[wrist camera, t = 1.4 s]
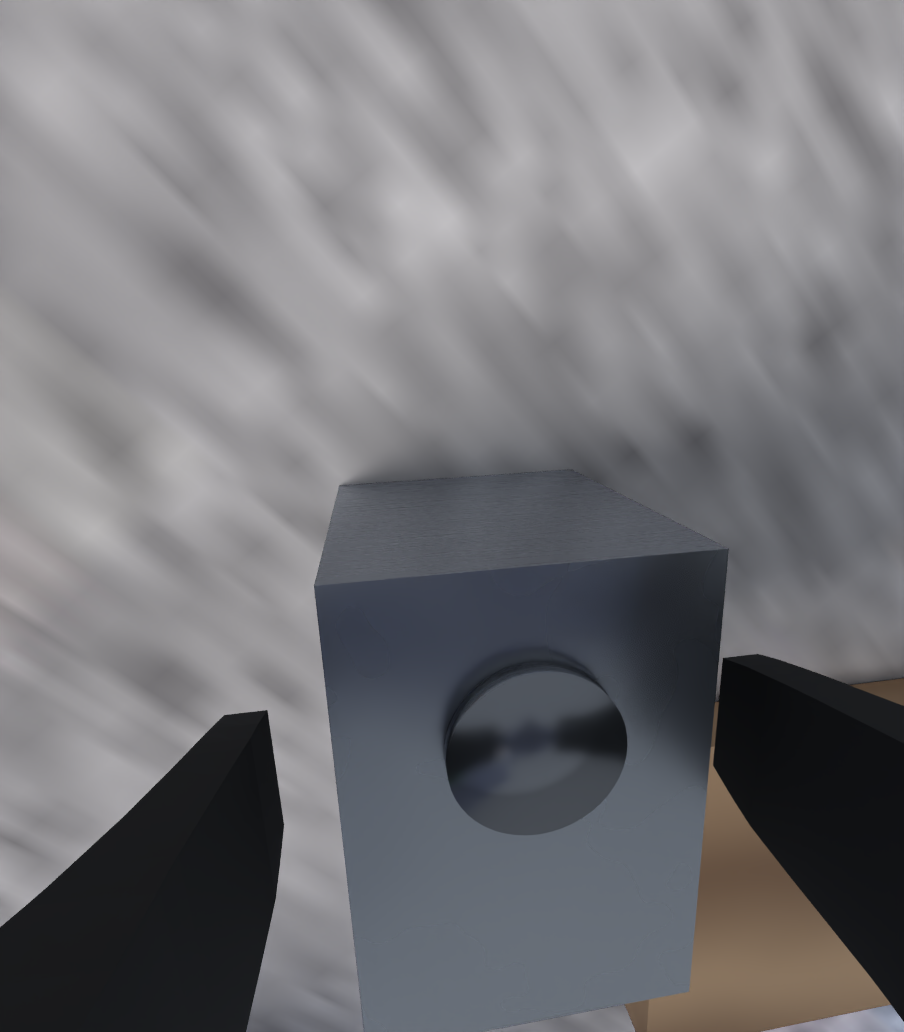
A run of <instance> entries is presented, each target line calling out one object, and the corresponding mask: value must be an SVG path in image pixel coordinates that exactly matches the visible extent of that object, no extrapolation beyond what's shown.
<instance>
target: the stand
mask: <svg viewBox="0 0 904 1032" xmlns="http://www.w3.org/2000/svg"><path fill="white" fill-rule="evenodd" d="M850 686H853V687H855V688H858V689H861V690H863V691H866V692H869V693H871V694H874V695H876V696H879V697H882V698H884V699H887V700H890V701H892V702H895V703H898V704H900V705H903V706H904V678H902V679H894V680H886V681H878V682H870V683H862V684H855V685H850ZM718 706H719V702H715V707H714V718H713V730H712V741H711V752H710V763H709V774H708V786H707V797H706V808H705V819H704V830H703V842H702V853H701V864H700V875H699V886H698V898H697V909H696V920H695V931H694V943H693V954H692V965H691V976H690V987H689V992H685V993H680V994H675V995H670V996H664V997H659V998H654V999H649V1000H644V1001H639V1002H633V1003H628V1004H625V1006H626V1008H627V1011H628V1013H629V1016H630V1018H631V1021H632V1023H633V1026H634V1028H635V1031H636V1032H761V1031H765V1030H770V1029H775V1028H780V1027H785V1026H790V1025H794V1024H799V1023H804V1022H809V1021H814V1020H819V1019H823V1018H828V1017H833V1016H838V1015H843V1014H847V1013H852V1012H857V1011H862V1010H867V1009H872V1008H876V1007H881V1006H886V1005H891V1004H890V1002H889V1001H888V1000H887V998H886V997H885V996H884V994H883V993H882V992H881V990H880V989H879V988H878V986H877V985H876V984H875V982H874V981H873V980H872V978H871V977H870V976H869V975H868V973H867V972H866V971H865V970H864V968H863V967H862V966H861V965H860V963H859V962H858V961H857V960H856V958H855V957H854V956H853V955H852V953H851V952H850V951H849V950H848V948H847V947H846V946H845V945H844V943H843V942H842V941H841V940H840V938H839V937H838V936H837V935H836V933H835V932H834V931H833V930H832V928H831V927H830V926H829V925H828V924H827V922H826V921H825V920H824V919H823V917H822V916H821V915H820V914H819V912H818V911H817V910H816V909H815V907H814V906H813V905H812V904H811V902H810V901H809V900H808V899H807V897H806V896H805V895H804V894H803V892H802V891H801V890H800V889H799V887H798V886H797V885H796V884H795V882H794V881H793V880H792V879H791V877H790V876H789V875H788V874H787V872H786V871H785V870H784V869H783V867H782V866H781V865H780V864H779V862H778V861H777V860H776V858H775V857H774V856H773V855H772V853H771V852H770V851H769V850H768V848H767V847H766V846H765V844H764V843H763V842H762V841H761V839H760V838H759V837H758V835H757V834H756V833H755V832H754V830H753V829H752V828H751V826H750V825H749V823H748V822H747V820H746V819H745V817H744V816H743V814H742V812H741V811H740V809H739V808H738V806H737V805H736V803H735V802H734V800H733V798H732V797H731V795H730V793H729V792H728V790H727V788H726V787H725V785H724V783H723V782H722V780H721V778H720V777H719V775H718V773H717V771H716V770H715V768H714V766H713V759H714V748H715V738H716V727H717V717H718Z"/></svg>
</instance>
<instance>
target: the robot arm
mask: <svg viewBox="0 0 904 1032" xmlns="http://www.w3.org/2000/svg"><path fill="white" fill-rule="evenodd" d="M713 766H714V768H715V770H716V771H717V773H718V775H719V777H720V778H721V780H722V782H723V783H724V785H725V787H726V788H727V790H728V792H729V793H730V795H731V797H732V798H733V800H734V802H735V803H736V805H737V806H738V808H739V809H740V811H741V812H742V814H743V816H744V817H745V819H746V820H747V822H748V823H749V825H750V826H751V828H752V829H753V830H754V832H755V833H756V834H757V835H758V837H759V838H760V839H761V841H762V842H763V843H764V844H765V846H766V847H767V848H768V850H769V851H770V852H771V853H772V855H773V856H774V857H775V858H776V860H777V861H778V862H779V864H780V865H781V866H782V867H783V869H784V870H785V871H786V872H787V874H788V875H789V876H790V877H791V879H792V880H793V881H794V882H795V884H796V885H797V886H798V887H799V889H800V890H801V891H802V892H803V894H804V895H805V896H806V897H807V899H808V900H809V901H810V902H811V904H812V905H813V906H814V907H815V909H816V910H817V911H818V912H819V914H820V915H821V916H822V917H823V919H824V920H825V921H826V922H827V924H828V925H829V926H830V927H831V928H832V930H833V931H834V932H835V933H836V935H837V936H838V937H839V938H840V940H841V941H842V942H843V943H844V945H845V946H846V947H847V948H848V950H849V951H850V952H851V953H852V955H853V956H854V957H855V958H856V960H857V961H858V962H859V963H860V965H861V966H862V967H863V968H864V970H865V971H866V972H867V973H868V975H869V976H870V977H871V978H872V980H873V981H874V982H875V984H876V985H877V986H878V988H879V989H880V990H881V992H882V993H883V994H884V996H885V997H886V998H887V1000H888V1001H889V1002H890V1004H891V1005H892V1006H893V1008H894V1009H895V1010H896V1012H897V1013H898V1014H899V1016H900V1017H901V1018H902V1020H903V1021H904V706H903V705H900V704H898V703H895V702H892V701H890V700H887V699H884V698H882V697H879V696H876V695H874V694H871V693H869V692H866V691H863V690H861V689H858V688H855V687H853V686H850V685H847V684H845V683H842V682H839V681H837V680H834V679H831V678H829V677H826V676H823V675H821V674H818V673H815V672H812V671H810V670H807V669H804V668H801V667H798V666H796V665H793V664H790V663H787V662H784V661H780V660H777V659H774V658H770V657H767V656H763V655H759V654H755V655H746V656H737V657H728V658H723V663H722V674H721V685H720V695H719V706H718V717H717V727H716V738H715V748H714V759H713ZM283 829H284V822H283V815H282V808H281V801H280V795H279V788H278V781H277V774H276V767H275V760H274V753H273V746H272V739H271V733H270V726H269V719H268V712H267V710H266V711H257V712H248V713H239V714H231V715H224V716H223V717H222V718H221V719H220V720H219V721H218V722H217V723H216V724H215V725H214V726H213V727H212V728H211V729H210V730H209V731H208V732H207V733H206V734H205V735H204V736H203V737H202V738H201V739H200V740H199V741H198V742H197V743H196V744H195V745H194V746H193V747H192V748H191V749H190V750H189V751H188V753H187V754H186V755H185V756H184V757H183V758H182V759H181V760H180V761H179V762H178V763H177V764H176V765H175V766H174V767H173V768H172V769H171V770H170V771H169V772H168V773H167V774H166V775H165V776H164V777H163V778H162V779H161V780H160V781H159V782H158V783H157V784H156V785H155V786H154V787H153V788H152V789H151V790H150V791H149V792H148V793H147V794H146V795H145V796H144V797H143V798H142V799H141V800H140V801H139V802H138V803H137V804H136V805H135V806H134V807H133V808H132V809H131V810H130V811H129V812H128V813H127V814H126V815H125V816H124V817H123V818H122V819H121V820H120V821H119V822H118V823H116V824H115V825H114V826H113V827H112V828H111V829H110V830H109V831H108V832H107V833H106V834H104V835H103V836H102V837H101V838H100V839H99V840H98V841H97V842H96V843H95V844H94V845H93V846H91V847H90V848H89V849H88V850H87V851H86V852H85V853H84V854H83V855H82V856H81V857H80V858H78V859H77V860H76V861H75V862H74V863H73V864H72V865H71V866H70V867H69V868H68V869H66V870H65V871H64V872H63V873H62V874H61V875H60V876H59V877H58V878H57V879H56V880H55V881H53V882H52V883H51V884H50V885H49V886H48V887H47V888H46V889H45V890H43V891H42V892H41V893H40V894H39V895H38V896H37V897H35V898H34V899H33V900H32V901H31V902H30V903H28V904H27V905H26V906H25V907H24V908H23V909H21V910H20V911H19V912H18V913H17V914H16V915H14V916H13V917H12V918H11V919H10V920H8V921H7V922H6V923H5V924H4V925H2V926H1V927H0V1032H246V1029H247V1025H248V1020H249V1016H250V1011H251V1007H252V1003H253V998H254V994H255V989H256V985H257V981H258V976H259V972H260V967H261V963H262V958H263V954H264V949H265V945H266V940H267V936H268V931H269V927H270V922H271V918H272V913H273V908H274V904H275V899H276V891H277V883H278V875H279V867H280V858H281V848H282V839H283Z"/></svg>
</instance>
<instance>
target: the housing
mask: <svg viewBox="0 0 904 1032" xmlns="http://www.w3.org/2000/svg"><path fill="white" fill-rule="evenodd" d="M728 550H729V548H727V547H725V546H723V545H721V544H719V543H717V542H715V541H713V540H711V539H709V538H707V537H705V536H703V535H701V534H699V533H697V532H695V531H693V530H691V529H689V528H687V527H685V526H683V525H681V524H679V523H677V522H675V521H673V520H671V519H669V518H667V517H665V516H663V515H661V514H659V513H657V512H655V511H653V510H651V509H649V508H647V507H645V506H643V505H641V504H639V503H637V502H635V501H633V500H631V499H629V498H627V497H625V496H623V495H621V494H619V493H617V492H615V491H613V490H611V489H609V488H607V487H605V486H603V485H601V484H599V483H597V482H595V481H593V480H592V479H590V478H588V477H586V476H584V475H582V474H580V473H578V472H576V471H574V470H558V471H543V472H529V473H514V474H500V475H485V476H470V477H456V478H441V479H427V480H412V481H398V482H383V483H369V484H354V485H340V486H339V489H338V493H337V497H336V501H335V505H334V509H333V513H332V517H331V521H330V525H329V529H328V533H327V537H326V541H325V545H324V549H323V553H322V557H321V560H320V564H319V568H318V572H317V576H316V580H315V584H314V589H315V598H316V607H317V616H318V625H319V634H320V643H321V652H322V660H323V669H324V678H325V687H326V696H327V705H328V714H329V723H330V732H331V741H332V749H333V758H334V767H335V776H336V785H337V794H338V803H339V812H340V821H341V830H342V839H343V847H344V856H345V865H346V874H347V883H348V892H349V901H350V910H351V919H352V928H353V937H354V945H355V954H356V963H357V972H358V981H359V990H360V999H361V1008H362V1017H363V1026H364V1032H483V1031H489V1030H494V1029H499V1028H504V1027H509V1026H514V1025H520V1024H525V1023H530V1022H535V1021H540V1020H545V1019H551V1018H556V1017H561V1016H566V1015H571V1014H576V1013H582V1012H587V1011H592V1010H597V1009H602V1008H608V1007H613V1006H618V1005H623V1004H628V1003H633V1002H639V1001H644V1000H649V999H654V998H659V997H664V996H670V995H675V994H680V993H685V992H689V987H690V976H691V965H692V954H693V943H694V931H695V920H696V909H697V898H698V886H699V875H700V864H701V853H702V842H703V830H704V819H705V808H706V797H707V786H708V774H709V763H710V752H711V741H712V730H713V718H714V707H715V696H716V685H717V674H718V662H719V651H720V640H721V629H722V617H723V606H724V595H725V584H726V573H727V561H728Z"/></svg>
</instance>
